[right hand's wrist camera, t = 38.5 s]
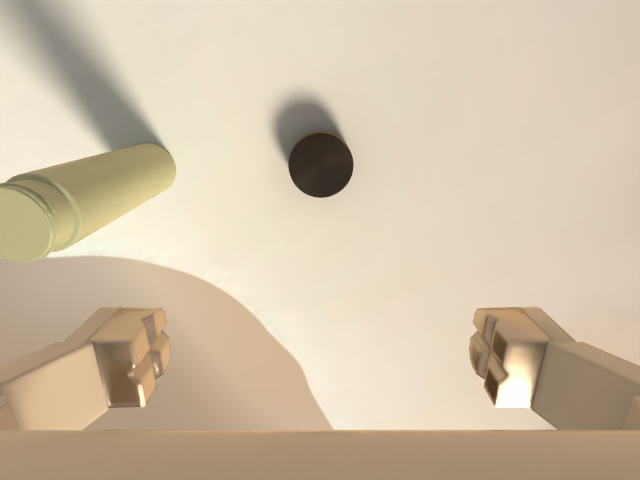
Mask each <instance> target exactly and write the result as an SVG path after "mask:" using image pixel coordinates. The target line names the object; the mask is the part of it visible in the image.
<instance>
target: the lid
mask: <svg viewBox="0 0 640 480" xmlns="http://www.w3.org/2000/svg"><path fill="white" fill-rule="evenodd" d="M289 172H290V176H291V178H292V180H293V182H294V184H295V185H296V186H297V187H298V188H299V189H300V190H301V191H302V192H304V193H305V194H307V195H310V196H313V197H319V198H323V197H329V196H332V195H335V194H337V193H338V192H340V191H341V190H342V189H343V188H344V187H345V186H346V185H347V184H348V182H349V180H350V178H351V176H352V172H353V158H352V154H351V152H350V150H349V148H348V146H347V145H346V143H345V142H344V141H343V140H342V139H341V138H340V137H339V136H337V135H336V134H334V133H331V132H328V131H314V132H311V133H308V134H306V135H305V136H303V137H302V138H301V139H300V140H299V141H298V142H297V143H296V145H295V146H294V148H293V150H292V152H291V155H290V158H289Z"/></svg>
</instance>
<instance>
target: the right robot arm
mask: <svg viewBox="0 0 640 480" xmlns="http://www.w3.org/2000/svg"><path fill="white" fill-rule="evenodd" d="M166 324H167V320H166V315H165V312H164V310H163V309H162V308H140V307H103V308H99V309H98V310H97V311H96V312H95V313H94V314H93V315H92V316H91V317H90V318H89V319H88V320H87V321H85V322H84V323H83V324H82V325H81V326H80V327H79V328H78V329H77V330H76V331H75V332H74V333H73V334H72V335H70V336H69V337H68V338H67V339H66V340H65V341H64V342H56V343H54V344H52V345H49V346H47V347H44V348H42V349H40V350H37V351H35V352H33V353H30V354H28V355H25V356H23V357H21V358H18V359H16V360H14V361H11V362H9V363H7V364H4V365H2V366H0V480H640V366H638V365H636V364H633V363H631V362H629V361H626V360H624V359H622V358H619V357H617V356H614V355H612V354H610V353H607V352H605V351H603V350H600V349H598V348H596V347H593V346H591V345H588V344H586V343H584V342H576V341H575V340H574V339H573V338H572V337H571V336H570V335H569V334H567V333H566V332H565V331H564V330H563V329H562V328H561V327H560V326H559V325H558V324H557V323H556V322H555V321H554V320H553V319H551V318H550V317H549V316H548V315H547V314H546V313H545V312H544V311H543V310H542V309H541V308H538V307H510V308H479V309H477V310H476V312H475V314H474V320H473V324H474V325H475V327H476V328H477V330H478V331H477V332H476V333H475V334H474V335H473V336H472V337H471V339H470V347H469V351H470V360H471V363H472V366H473V368H474V370H475V372H476V374H477V375H479V376H480V377H482V378H483V379H485V382H484V388H485V390H486V392H487V393H488V395H489V397H490V398H491V400H492V402H493V404H494V405H495V407H520V408H532V410H533V411H534V412H536V413H537V414H538V415H539V416H541V417H542V418H543V419H545V420H546V421H547V422H549V423H550V424H551V425H552V426H554V427H555V428H556V429H558V430H82V429H84V428H85V427H86V426H88V425H89V424H90V423H92V422H93V421H94V420H95V419H97V418H98V417H99V416H101V415H102V414H103V413H105V412H106V411H107V410H108V408H118V407H145V405H146V404H147V402H148V400H149V398H150V397H151V395H152V393H153V392H154V390H155V388H156V382H155V379H156V378H158V377H160V376H161V375H163V374H164V372H165V370H166V368H167V367H168V363H169V359H170V350H171V345H170V339H169V337H168V336H167V335H166V334H165V333H164V332H163V331H162V330H163V328H164V327H165V325H166Z"/></svg>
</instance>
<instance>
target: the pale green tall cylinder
mask: <svg viewBox="0 0 640 480" xmlns="http://www.w3.org/2000/svg"><path fill="white" fill-rule="evenodd" d="M175 176H176V167H175V163H174V161H173V159H172V157H171V156H170V154H169V153H168V152H167V151H166V150H165V149H163V148H162V147H160V146H158V145H156V144H152V143H143V144H139V145H135V146H131V147H127V148H123V149H119V150H115V151H111V152H107V153H103V154H99V155H95V156H91V157H87V158H83V159H79V160H75V161H71V162H67V163H63V164H59V165H55V166H51V167H48V168H44V169H40V170H36V171H32V172H28V173H24V174H20V175H17V176H14V177H12V178H11V179H9V180H8V181H7V182H5V183H0V257H2V258H4V259H7V260H10V261H15V262H32V261H37V260H40V259H42V258H44V257H46V256H47V255H48V254H49V253H50V252H57V251H61V250H64V249H66V248H68V247H70V246H71V245H73V244H75V243H76V242H78V241H80V240H82V239H83V238H85V237H87V236H88V235H90V234H92V233H93V232H95V231H97V230H98V229H100V228H102V227H104V226H105V225H107V224H109V223H110V222H112V221H114V220H115V219H117V218H119V217H121V216H122V215H124V214H126V213H127V212H129V211H131V210H132V209H134V208H136V207H137V206H139V205H141V204H143V203H144V202H146V201H148V200H149V199H151V198H153V197H154V196H156V195H158V194H160V193H161V192H163V191H165V190H166V189H168V188H169V187H170V186H171V185H172V183H173V182H174V180H175Z"/></svg>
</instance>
